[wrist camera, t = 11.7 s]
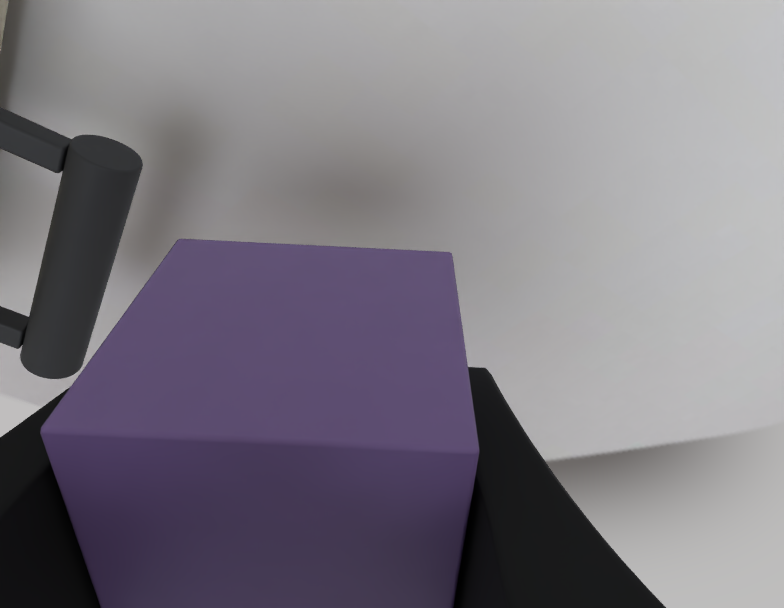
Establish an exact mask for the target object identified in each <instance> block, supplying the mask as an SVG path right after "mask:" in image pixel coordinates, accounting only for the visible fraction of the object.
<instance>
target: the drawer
mask: <svg viewBox="0 0 784 608" xmlns="http://www.w3.org/2000/svg"><path fill="white" fill-rule="evenodd" d="M8 2H9V0H0V52H1V46H2V39H3V33H4V27H5V21H6V14H7V8H8ZM0 148H1V149H3V150H5V151H8V152H10V153H12V154H14V155H17V156H19V157H21V158H24V159H26V160H28V161H30V162H33V163H35V164H37V165H40V166H42V167H44V168H46V169H49V170H51V171H53V172H55V173H60V172H61V171H63V173H62V178H61V182H60V186H59V191H58V195H57V199H56V204H55V208H54V212H53V217H52V221H51V225H50V229H49V234H48V238H47V242H46V247H45V251H44V255H43V260H42V264H41V268H40V273H39V277H38V281H37V285H36V290H35V294H34V298H33V303H32V307H31V311H30V316H29V317H27V316H25V315H22V314H19V313H17V312H14V311H12V310H9V309H6V308H4V307H1V306H0V343H3V344H6V345H8V346H11V347H14V348H17V349H18V348H20V347H21V346H22V345H23V346H22V350H21V354H20V358H21V362H22V364H23V366H24V367H25V368H26V369H27V370H28V371H29V372H31V373H33V374H35V375H37V376H40V377H43V378H48V379H61V378H66V377H69V376H71V375H73V374H75V373H76V372H78V371H79V370H80V368H81V367H82V364H83V361H84V358H85V355H86V351H87V348H88V345H89V341H90V338H91V335H92V331H93V328H94V325H95V322H96V318H97V315H98V312H99V308H100V305H101V302H102V298H103V295H104V292H105V289H106V285H107V282H108V279H109V275H110V272H111V269H112V265H113V262H114V259H115V256H116V252H117V249H118V246H119V242H120V239H121V236H122V232H123V229H124V226H125V223H126V219H127V216H128V213H129V209H130V206H131V203H132V199H133V196H134V193H135V190H136V186H137V183H138V180H139V176H140V173H141V170H142V166H143V163H142V159H141V157H140V156H139V155H138V154H137V153H136V152H135V151H134V150H132V149H131V148H129V147H128V146H126V145H124V144H122V143H120V142H118V141H115V140H113V139H109V138H106V137H102V136H96V135H80V136H76V137H74V138H73V139H69V138H67V137H65V136H63V135H60V134H58V133H56V132H54V131H52V130H49V129H47V128H45V127H43V126H41V125H38V124H36V123H34V122H32V121H30V120H27V119H25V118H23V117H21V116H19V115H16V114H14V113H12V112H10V111H8V110H5V109H3V108H1V107H0Z"/></svg>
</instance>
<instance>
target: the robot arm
mask: <svg viewBox="0 0 784 608" xmlns="http://www.w3.org/2000/svg"><path fill="white" fill-rule="evenodd" d="M468 372H469V379H470V386H471V393H472V401H473V408H474V415H475V422H476V429H477V437H478V444H479V457H478V463H477V469H476V475H475V481H474V487H473V493H472V499H471V505H470V511H469V517H468V523H467V529H466V535H465V541H464V547H463V553H462V559H461V565H460V571H459V577H458V583H457V589H456V595H455V601H454V607H453V608H666V607H665V606H664V605H663V604H662V603H661V602H660V601H659V600H658V599H657V598H656V597H655V596H654V595H653V594H652V593H651V592H650V590H649V589H648V588H647V587H646V586H645V585H644V584H643V583H642V582H641V581H640V579H639V578H638V577H637V576H636V575H635V574H634V573H633V572H632V571H631V569H629V567H628V566H627V565H626V564H625V563H624V562H623V561H622V560H621V558H620V557H619V556H618V555H617V554H616V553H615V551H614V550H613V549H612V548H611V547H610V546H609V545H608V543H607V542H606V541H605V540H604V538H603V537H602V536H601V535H600V533H599V532H598V531H597V530H596V529H595V527H594V526H593V525H592V524H591V522H590V521H589V520H588V519H587V518H586V516H585V515H584V514H583V512H582V511H581V510H580V508H579V507H578V506H577V505H576V503H575V502H574V501H573V499H572V498H571V497H570V496H569V494H568V493H567V491H566V490H565V489H564V488H563V486H562V485H561V483H560V482H559V481H558V479H557V478H556V477H555V475H554V474H553V472H552V471H551V469H550V468H549V466H548V465H547V464H546V462H545V461H544V459H543V458H542V456H541V455H540V454H539V452H538V451H537V449H536V448H535V446H534V445H533V443H532V442H531V440H530V439H529V437H528V436H527V434H526V433H525V431H524V430H523V428H522V426H521V425H520V423H519V422H518V420H517V418H516V417H515V415H514V414H513V412H512V410H511V409H510V407H509V405H508V404H507V402H506V400H505V399H504V397H503V395H502V393H501V392H500V390H499V388H498V386H497V384H496V383H495V381H494V379H493V377H492V375H491V374H490V373H489V372H488V370H487V369H486V368H475V367H468ZM69 389H70V388H68V389H67V390H65V391H64V392H63V393H61V394H60V395H59V396H57V397H56V398H55V399H53V400H52V401H50V402H49V403H48V404H46V405H45V406H44V407H42V408H41V409H39V410H38V411H37V412H35V413H34V414H32V415H31V416H30V417H28V418H27V419H26V420H24V421H23V422H22V423H20V424H19V425H17V426H16V427H14V428H13V429H12V430H10V431H9V432H8V433H6V434H5V435H3V436H2V437H0V608H101V607H100V604H99V601H98V598H97V595H96V592H95V589H94V586H93V584H92V581H91V578H90V575H89V572H88V569H87V566H86V563H85V560H84V558H83V555H82V552H81V549H80V546H79V543H78V540H77V537H76V535H75V532H74V529H73V526H72V523H71V520H70V517H69V514H68V511H67V509H66V506H65V503H64V500H63V497H62V494H61V491H60V488H59V486H58V483H57V480H56V477H55V474H54V471H53V468H52V465H51V463H50V460H49V457H48V454H47V451H46V448H45V445H44V442H43V439H42V437H41V434H40V432H41V427H42V426H43V424H44V423H45V422H46V420H47V419H48V417H49V416H50V415H51V413H52V412H53V411H54V409H55V408H56V406H57V405H58V404H59V402H60V401H61V400H62V398H63V397H64V395H65V394H66V393H67V391H68V390H69Z"/></svg>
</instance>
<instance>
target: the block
mask: <svg viewBox="0 0 784 608" xmlns="http://www.w3.org/2000/svg"><path fill="white" fill-rule="evenodd" d="M40 434H41V437H42V439H43V442H44V445H45V448H46V451H47V454H48V457H49V460H50V463H51V465H52V468H53V471H54V474H55V477H56V480H57V483H58V486H59V488H60V491H61V494H62V497H63V500H64V503H65V506H66V509H67V511H68V514H69V517H70V520H71V523H72V526H73V529H74V532H75V535H76V537H77V540H78V543H79V546H80V549H81V552H82V555H83V558H84V560H85V563H86V566H87V569H88V572H89V575H90V578H91V581H92V584H93V586H94V589H95V592H96V595H97V598H98V601H99V604H100V607H101V608H453V607H454V601H455V595H456V589H457V583H458V577H459V571H460V565H461V559H462V553H463V547H464V541H465V535H466V529H467V523H468V517H469V511H470V505H471V499H472V493H473V487H474V481H475V475H476V469H477V463H478V457H479V444H478V437H477V429H476V422H475V415H474V408H473V401H472V393H471V386H470V379H469V372H468V365H467V357H466V350H465V343H464V336H463V329H462V322H461V314H460V307H459V300H458V293H457V286H456V278H455V271H454V264H453V257H452V253H450V252H437V251H416V250H396V249H376V248H356V247H336V246H316V245H296V244H276V243H256V242H235V241H215V240H195V239H179V240H177V241H176V243H175V244H174V246H173V247H172V248H171V250H170V251H169V252H168V254H167V255H166V257H165V258H164V259H163V261H162V262H161V263H160V265H159V266H158V268H157V269H156V270H155V272H154V273H153V274H152V276H151V277H150V279H149V280H148V281H147V283H146V284H145V285H144V287H143V288H142V290H141V291H140V292H139V294H138V295H137V296H136V298H135V299H134V301H133V302H132V303H131V305H130V306H129V307H128V309H127V310H126V312H125V313H124V314H123V316H122V317H121V318H120V320H119V321H118V323H117V324H116V325H115V327H114V328H113V329H112V331H111V332H110V334H109V335H108V336H107V338H106V339H105V340H104V342H103V343H102V345H101V346H100V347H99V349H98V350H97V351H96V353H95V354H94V356H93V357H92V358H91V360H90V361H89V362H88V364H87V365H86V367H85V368H84V369H83V371H82V372H81V373H80V375H79V376H78V378H77V379H76V380H75V382H74V383H73V384H72V386H71V387H70V389H69V390H68V391H67V393H66V394H65V395H64V397H63V398H62V400H61V401H60V402H59V404H58V405H57V406H56V408H55V409H54V411H53V412H52V413H51V415H50V416H49V417H48V419H47V420H46V422H45V423H44V424H43V426H42V427H41V432H40Z"/></svg>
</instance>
